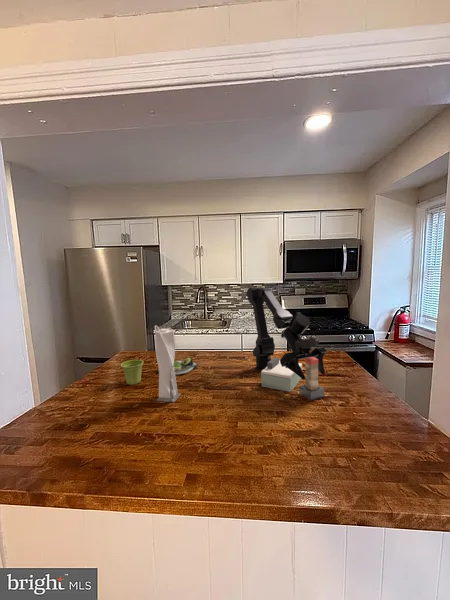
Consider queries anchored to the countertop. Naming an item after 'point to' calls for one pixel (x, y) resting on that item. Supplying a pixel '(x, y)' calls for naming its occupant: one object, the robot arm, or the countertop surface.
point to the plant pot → (132, 371)
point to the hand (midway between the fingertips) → (314, 376)
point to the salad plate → (183, 366)
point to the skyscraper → (166, 364)
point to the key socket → (311, 392)
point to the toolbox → (280, 382)
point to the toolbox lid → (278, 369)
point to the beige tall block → (311, 373)
